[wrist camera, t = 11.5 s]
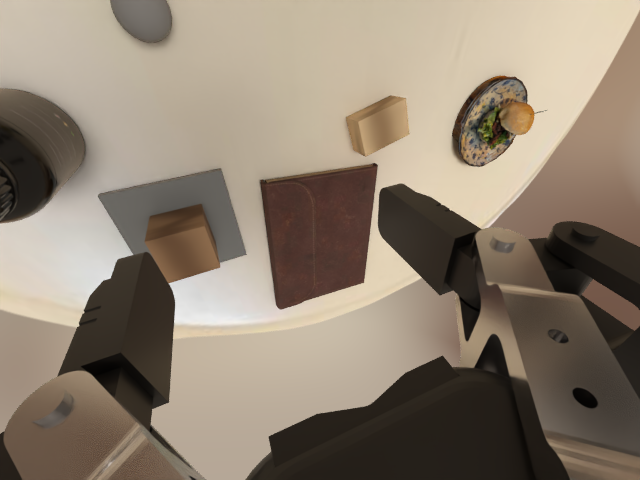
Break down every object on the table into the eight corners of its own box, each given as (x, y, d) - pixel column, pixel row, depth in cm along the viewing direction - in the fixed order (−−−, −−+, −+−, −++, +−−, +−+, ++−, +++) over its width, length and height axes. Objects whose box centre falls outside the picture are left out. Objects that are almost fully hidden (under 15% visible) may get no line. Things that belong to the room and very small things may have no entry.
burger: (436, 144, 38) (481, 160, 32) (492, 55, 34) (554, 56, 29) (478, 174, 45) (521, 192, 39) (528, 103, 41) (585, 110, 35)
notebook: (372, 162, 36) (381, 166, 34) (360, 276, 47) (366, 283, 45) (258, 178, 31) (262, 184, 29) (275, 301, 42) (278, 310, 40)
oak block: (389, 95, 32) (405, 98, 29) (394, 129, 34) (409, 134, 32) (344, 117, 31) (358, 121, 29) (352, 149, 33) (365, 156, 31)
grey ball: (160, -20, 20) (157, -32, 17) (179, 41, 22) (179, 39, 19) (105, -19, 19) (91, -31, 16) (130, 45, 21) (122, 43, 18)
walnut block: (201, 203, 29) (204, 226, 25) (215, 241, 32) (220, 267, 28) (149, 216, 27) (144, 241, 24) (169, 254, 30) (167, 283, 27)
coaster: (220, 168, 28) (221, 170, 28) (245, 251, 35) (246, 254, 34) (99, 193, 25) (98, 196, 25) (151, 280, 32) (151, 283, 31)
